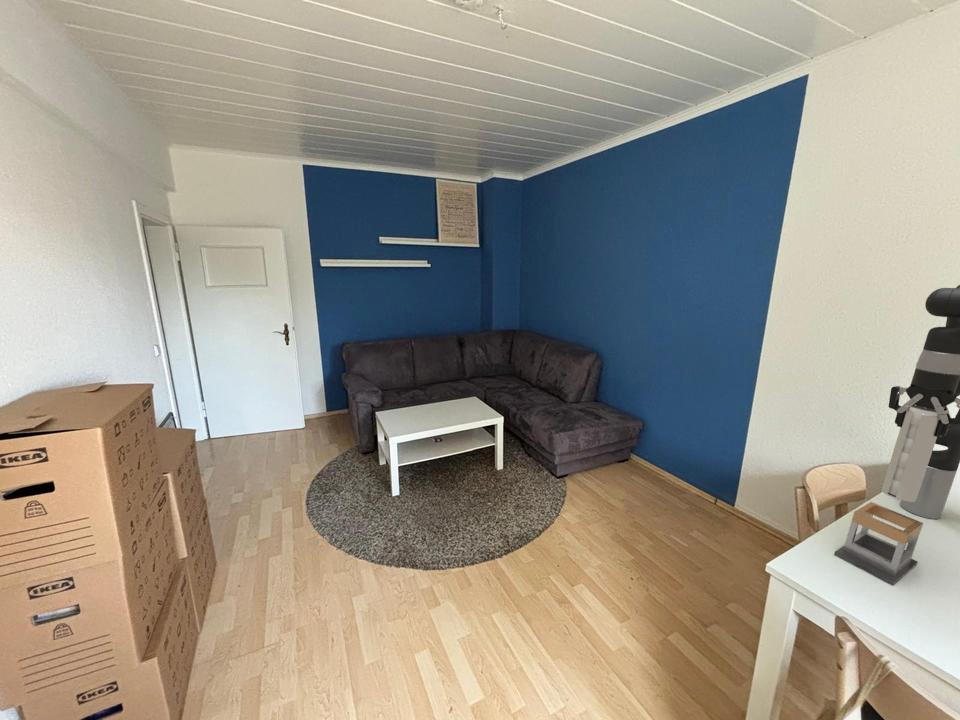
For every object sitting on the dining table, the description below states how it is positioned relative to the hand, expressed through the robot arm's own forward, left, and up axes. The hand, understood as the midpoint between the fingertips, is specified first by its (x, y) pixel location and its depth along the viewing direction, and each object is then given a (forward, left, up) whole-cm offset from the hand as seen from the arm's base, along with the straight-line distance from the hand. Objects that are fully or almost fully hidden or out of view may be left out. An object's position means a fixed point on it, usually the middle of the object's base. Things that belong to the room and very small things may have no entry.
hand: (918, 431), depth 100 cm
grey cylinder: (0, 0, -19) cm, 19 cm away
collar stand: (+5, 0, -38) cm, 38 cm away
